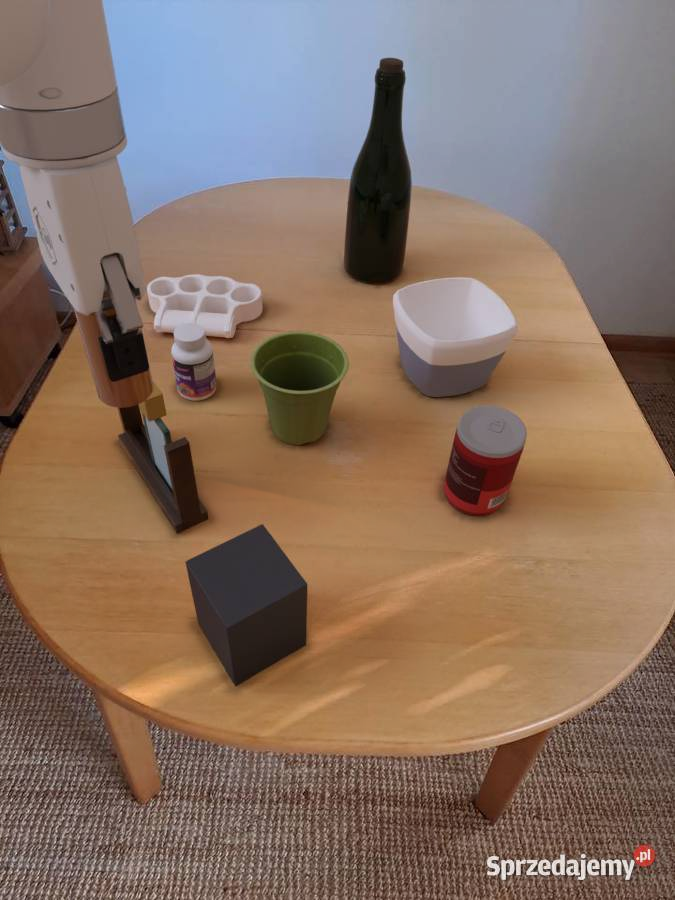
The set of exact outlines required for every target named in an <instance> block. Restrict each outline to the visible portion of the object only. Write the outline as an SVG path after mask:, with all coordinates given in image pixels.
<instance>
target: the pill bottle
mask: <svg viewBox="0 0 675 900" xmlns="http://www.w3.org/2000/svg"><path fill="white" fill-rule="evenodd" d="M173 339H174V342H173V344H172V346H171V350H170V353H171V359H172V366H173V371H174V377H175V384H176V388H177V392H178V394H179V395H180V396H181V397H182V398H184V399H185V400H189V401H195V402H196V401H197V402H198V401H203V400H206V399H208V398H210V397H212V396H213V394H214V393H215V392H216V390H217V387H218V385H217V375H216V374H217V373H216V366H215V358H214V357H215V356H214V349H213V348H214V347H213V345H212V343H211V342H210V341H209V339H207V336H206V335H205V330H204V328H203V327H202V326H201V325H199V324H196V323H185V324H182V325H180V326H178V327H177V328H176V329H175V330H174V333H173Z"/></svg>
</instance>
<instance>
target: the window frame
mask: <svg viewBox="0 0 675 900" xmlns="http://www.w3.org/2000/svg"><path fill="white" fill-rule="evenodd" d="M117 412H118V416H119V419H120V423H121V428H122V431H123V432H122V433H120V434H117V437H118V441H119V444H120V446H121V448H122V449H123V451H124V452H125V454H126V456H127V457H128V459H129V460H130V462H131V463H132V465H133V467H134V468H135V470H136V472H137V473H138V474H139V476H140V478H141V479H142V481H143V483H144V484H145V486H146V487H147V489H148V490H149V492H150V494H151V496H152V497H153V499H154V500H155V501H156V503H157V505H158V506H159V508H160V510H161V511H162V513H163V515H164V516H165V518H166V519H167V521H168V522H169V524H170V525H171V527H172V529H173V530H174V532H175V533H176V535H178V534H180V533H182V532H184V531H186V530H188V529H191V528H193V527H195V526H197V525H200V524H201V523H203V522H206V521H208V520H209V519H210V517H209V511H208V509H207V508H206V506H205V505H204V504H203V502H202V501H201V499H200V498H199V493H198V487H197V479H196V473H195V469H194V462H193V456H192V450H191V444H190V441H189V440H188V439H187V437H185V436H184V437H182V438H179V439H176V440H174V441H172V442H171V443H169V444H167V445H164V450H165V455H166V460H167V465H168V470H169V475H170V479H171V484H172V489H173V493H172V491H171V490H170V488H169V487H168V485H167V484H166V482H165V481H164V479H163V478H162V476H161V474H160V473H159V471H158V470H157V468H156V467H155V465H154V464H153V460H152V455H151V451H150V446H149V442H148V438H147V433H146V429H145V424H144V420H143V416H142V411H141V410H140V407H139V404H138V405H135V406H131V407H125V408H117Z"/></svg>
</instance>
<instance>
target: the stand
mask: <svg viewBox="0 0 675 900" xmlns="http://www.w3.org/2000/svg"><path fill="white" fill-rule="evenodd" d="M185 567H186V571H187V576H188V581H189V586H190V591H191V596H192V601H193V605H194V606H193V607H194V611H195V615H196V621H197V625H198V626H199V628H200V630H201V631H202V633H203V634H204V636H205V639H206V640H207V641H208V643H209V645H210V646H211V648H212V650H213V652H214V653H215V655H216V656H217V658H218V660H219V661H220V664H221V665H222V667H223V668H224V670H225V672H226V673H227V675H228V677H229V679H230V680H231V682H232V684H233V686H234V687H238V686H240V685H241V684H243V683H245V682H247V681H248V680H250V679H251V678H253V677H255V676H256V675H258V674H260V673H261V672H263V671H265V670H267V669H268V668H270V667H272V666H274V665H275V664H277V663H278V662H280V661H282V660H284V659H286V658H287V657H289V656H290V655H291V654H294V653H296V652H297V651H299V650H300V649H302V648H304V647H306V646H307V636H308V634H307V632H308V631H307V630H308V629H307V628H308V582H307V581H306V580H305V578H304V577H303V576H302V575H301V573H300V572H299V571H298V569H297V568H296V567H295V565H294V564H293V562H292V561H291V560H290V559H289V557H288V556H287V554H286V552H284V550H283V549H282V548H281V547H280V545H279V544H278V542H277V541H276V540H275V538H274V537H273V536H272V534H271V533H270V532H269V530H268V529H267V528H266V527H265V525H264V524H263V523H262V524H259V525H257V526H255V527H252V528H251V529H249V530H247V531H245V532H243V533H241V534H238V535H236V536H234V537H232V538H230V539H228V540H226V541H224V542H222V543H220V544H218V545H216V546H213V547H212V548H210V549H208V550H206V551H203V552H202V553H200V554H198V555H195V556H193V557H191V558H189V559H187V560H185Z"/></svg>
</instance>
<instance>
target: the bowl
mask: <svg viewBox="0 0 675 900" xmlns="http://www.w3.org/2000/svg"><path fill="white" fill-rule="evenodd" d="M392 308H393V315H394V323H395V329H396V336H397V337H396V338H397V343H398V351H399V358H400V364H401V367H402V369H403V372H404V374H405V376H406V378H407V379H408V380H409V382H410V383H411V384H412V385H413V386H414V387H415V388H416V389H417V390H418V391H419V392H421V393H422V394H423V395H425V396H426V397H431V398H441V397H452V396H453V397H454V396H458V395H464V394H468V393H470V392H473V391H475V390H478V389H480V388H482V387H484V386H485V385H486V384H487V383H488V381H489V379H490V378H491V376H492V375H493V373H494V371H495V369H496V368H497V366H498V364H499V363H500V362H501V360H502V358H503V357H504V355H505V353H506V352H507V350H508V349H509V347H510V346H511V344H512V342H513V341H514V339H515V337H516V336H517V334H518V333H519V329H518V325H517V320H516V317H515V315H514V314H513V312H512V311H511V309H510V308H509V306H508V305H507V304H506V302H505V301H504V300H503V299H502V297H500V295H498V294H497V293H496V292H495V291H494V290H492V289H491V288H490V287H489V286H488V285H486V284H485V283H484V282H481V281H480V280H478V279H476V278H475V277H462V276H458V277H455V276H454V277H445V278H443V277H442V278H435V279H429V280H424V281H421V282H415V283H412V284H409V285H406V286H404V287H402V288H399V289H397V290H396V291H395V292H394V293H393V295H392Z"/></svg>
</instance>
